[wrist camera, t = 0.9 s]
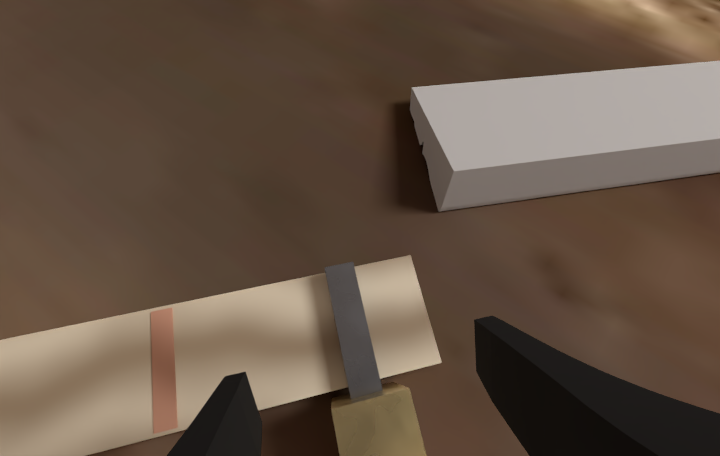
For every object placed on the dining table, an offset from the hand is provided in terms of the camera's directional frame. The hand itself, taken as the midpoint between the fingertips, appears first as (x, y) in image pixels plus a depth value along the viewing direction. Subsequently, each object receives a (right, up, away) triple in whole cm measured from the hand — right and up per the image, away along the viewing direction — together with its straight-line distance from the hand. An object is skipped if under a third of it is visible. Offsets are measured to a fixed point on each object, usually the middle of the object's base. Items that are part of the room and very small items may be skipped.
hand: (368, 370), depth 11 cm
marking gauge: (0, -5, +11) cm, 12 cm away
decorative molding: (+22, +13, +21) cm, 32 cm away
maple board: (-10, -4, +11) cm, 15 cm away
